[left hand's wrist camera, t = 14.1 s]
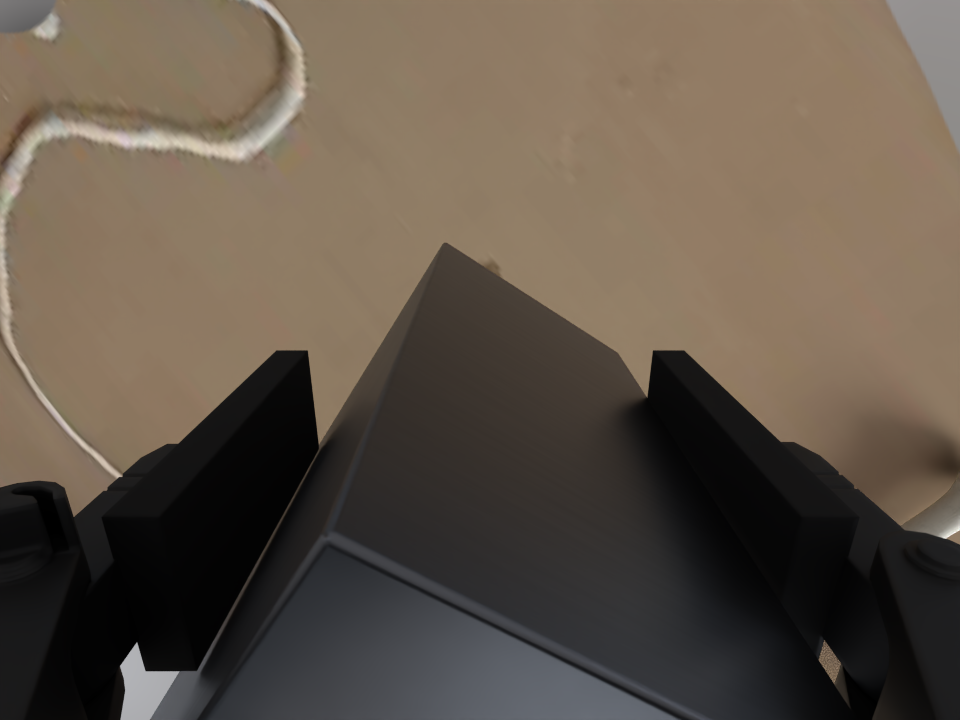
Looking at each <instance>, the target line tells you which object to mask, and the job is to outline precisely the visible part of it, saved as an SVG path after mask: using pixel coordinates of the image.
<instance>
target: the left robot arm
mask: <svg viewBox="0 0 960 720" xmlns="http://www.w3.org/2000/svg"><path fill="white" fill-rule="evenodd" d="M648 400H649V401H650V403H651V405H652V406H653V408H654V409H655V411H656V412H657V414H658V415H659V417H660V418H661V420H662V421H663V423H664V424H665V426H666V428H667V429H668V431H669V432H670V434H671V435H672V437H673V438H674V440H675V441H676V443H677V444H678V446H679V447H680V449H681V450H682V452H683V454H684V455H685V457H686V458H687V460H688V461H689V463H690V464H691V466H692V467H693V469H694V470H695V472H696V473H697V475H698V477H699V478H700V480H701V481H702V483H703V484H704V486H705V487H706V489H707V490H708V492H709V493H710V495H711V496H712V498H713V499H714V501H715V503H716V504H717V506H718V507H719V509H720V510H721V512H722V513H723V515H724V516H725V518H726V519H727V521H728V522H729V524H730V526H731V527H732V529H733V530H734V532H735V533H736V535H737V536H738V538H739V539H740V541H741V542H742V544H743V545H744V547H745V548H746V550H747V552H748V553H749V555H750V556H751V558H752V559H753V561H754V562H755V564H756V565H757V567H758V568H759V570H760V571H761V573H762V574H763V576H764V578H765V579H766V581H767V582H768V584H769V585H770V587H771V588H772V590H773V591H774V593H775V594H776V596H777V597H778V599H779V601H780V602H781V604H782V605H783V607H784V608H785V610H786V611H787V613H788V614H789V616H790V617H791V619H792V620H793V622H794V623H795V625H796V627H797V628H798V630H799V631H800V633H801V634H802V636H803V637H804V639H805V640H806V642H807V643H808V645H809V646H810V648H811V650H812V651H813V653H814V654H815V656H816V657H817V659H818V660H819V656H820V653H821V649H822V646H823V642H824V640H825V641H826V643H827V644H828V645H829V647H830V648H831V650H832V651H833V652H834V654H835V655H836V657H837V658H838V659H839V661H840V662H841V665H840V669H839V672H838V675H837V678H836V682H835V686H836V688H837V689H838V691H839V692H840V694H841V695H842V697H843V699H844V700H845V702H846V703H847V705H848V706H849V708H850V709H851V711H852V712H853V714H854V715H855V717H856V718H857V720H960V545H959V544H957V543H955V542H953V541H950V540H948V539H945V538H941V537H938V536H935V535H931V534H928V533H923V532H916V531H908V530H904V529H903V528H902V527H901V526H900V525H898V524H897V523H896V522H895V521H894V520H893V519H892V518H890V517H889V516H888V515H887V514H886V513H885V512H884V511H882V510H881V509H880V508H879V507H878V506H877V505H876V504H874V503H873V502H872V501H871V500H870V499H869V498H868V497H867V496H865V495H864V494H863V493H862V492H861V491H860V490H859V489H854V485H853V484H852V483H851V482H849V481H848V480H847V479H846V478H845V477H844V476H843V475H839V474H838V473H839V472H838V471H837V470H836V469H835V468H834V467H832V466H831V465H830V464H829V463H828V462H827V461H826V460H824V459H823V458H822V457H821V456H820V455H818V454H816V453H814V452H812V451H810V450H808V449H806V448H804V447H802V446H800V445H798V444H797V443H795V442H780V441H779V440H778V439H777V438H776V437H775V436H774V435H773V434H772V433H771V432H769V431H768V430H767V429H766V428H765V427H764V426H763V425H762V424H761V423H760V422H759V421H758V420H757V419H756V418H755V417H754V416H753V415H752V414H751V413H749V412H748V411H747V410H746V409H745V408H744V407H743V406H742V405H741V404H740V403H739V402H738V401H737V400H736V399H735V398H734V397H733V396H732V395H730V394H729V393H728V392H727V391H726V390H725V389H724V388H723V387H722V386H721V385H720V384H719V383H718V382H717V381H716V380H715V379H714V378H713V377H712V376H710V375H709V374H708V373H707V372H706V371H705V370H704V369H703V368H702V367H701V366H700V365H699V364H698V363H697V362H696V361H695V360H694V359H693V358H691V357H690V356H689V355H688V354H687V353H686V352H685V351H653V355H652V364H651V372H650V381H649V390H648ZM318 450H319V443H318V435H317V426H316V418H315V409H314V400H313V392H312V383H311V375H310V366H309V357H308V351H276V352H275V353H273V354H272V355H271V356H270V357H269V358H268V359H267V360H266V361H265V362H264V363H263V364H262V365H261V366H260V367H259V368H258V369H257V370H256V371H255V372H253V373H252V374H251V375H250V376H249V377H248V378H247V379H246V380H245V381H244V382H243V383H242V384H241V385H240V386H239V387H238V388H237V389H236V390H235V391H233V392H232V393H231V394H230V395H229V396H228V397H227V398H226V399H225V400H224V401H223V402H222V403H221V404H220V405H219V406H218V407H217V408H216V409H214V410H213V411H212V412H211V413H210V414H209V415H208V416H207V417H206V418H205V419H204V420H203V421H202V422H201V423H200V424H199V425H198V426H197V427H196V428H194V429H193V430H192V431H191V432H190V433H189V434H188V435H187V436H186V437H185V438H184V439H183V440H182V441H181V442H180V443H179V444H166V445H164V446H162V447H161V448H159V449H157V450H155V451H153V452H151V453H149V454H147V455H145V456H143V457H142V458H140V459H139V460H138V461H137V462H136V463H135V464H133V465H132V466H131V467H130V468H129V469H128V470H127V471H126V472H124V473H123V477H119V478H118V479H117V480H115V481H114V482H113V483H112V484H111V485H110V486H109V487H108V489H107V491H103V492H102V493H101V494H100V495H98V496H97V497H96V498H95V499H94V500H93V501H92V502H91V503H89V504H88V505H87V506H86V507H85V508H84V509H83V510H82V511H80V512H79V513H78V514H77V515H76V516H75V517H73V514H72V510H71V507H70V504H69V501H68V498H67V494H66V491H65V488H64V487H62V486H61V485H59V484H57V483H56V482H47V481H32V482H24V483H16V484H12V485H8V486H4V487H1V488H0V720H120V718H121V712H122V706H123V700H124V694H125V686H124V678H123V675H122V672H121V669H120V665H121V664H122V662H123V661H124V659H125V658H126V657H127V655H128V654H129V652H130V651H131V650H132V648H133V647H134V645H135V644H136V643H138V646H139V650H140V653H141V657H142V660H143V664H144V667H145V670H146V671H197V670H198V668H199V666H200V665H201V663H202V661H203V659H204V657H205V655H206V654H207V652H208V650H209V648H210V646H211V645H212V643H213V641H214V639H215V637H216V636H217V634H218V632H219V630H220V628H221V626H222V625H223V623H224V621H225V619H226V617H227V616H228V614H229V612H230V610H231V608H232V606H233V605H234V603H235V601H236V599H237V597H238V596H239V594H240V592H241V590H242V588H243V587H244V585H245V583H246V581H247V579H248V577H249V576H250V574H251V572H252V570H253V568H254V567H255V565H256V563H257V561H258V559H259V557H260V556H261V554H262V552H263V550H264V548H265V547H266V545H267V543H268V541H269V539H270V537H271V536H272V534H273V532H274V530H275V528H276V527H277V525H278V523H279V521H280V519H281V518H282V516H283V514H284V512H285V510H286V508H287V507H288V505H289V503H290V501H291V499H292V498H293V496H294V494H295V492H296V490H297V488H298V487H299V485H300V483H301V481H302V479H303V478H304V476H305V474H306V472H307V470H308V468H309V467H310V465H311V463H312V461H313V459H314V458H315V456H316V454H317V452H318Z"/></svg>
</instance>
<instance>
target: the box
mask: <svg viewBox="0 0 960 720" xmlns="http://www.w3.org/2000/svg"><path fill="white" fill-rule="evenodd" d="M150 720H857V718H856V717H855V715H854V714H853V712H852V711H851V709H850V708H849V706H848V705H847V703H846V702H845V700H844V699H843V697H842V695H841V694H840V692H839V691H838V689H837V688H836V686H835V685H834V683H833V682H832V680H831V679H830V677H829V676H828V674H827V672H826V671H825V669H824V668H823V666H822V665H821V663H820V662H819V660H818V659H817V657H816V656H815V654H814V653H813V651H812V650H811V648H810V646H809V645H808V643H807V642H806V640H805V639H804V637H803V636H802V634H801V633H800V631H799V630H798V628H797V627H796V625H795V623H794V622H793V620H792V619H791V617H790V616H789V614H788V613H787V611H786V610H785V608H784V607H783V605H782V604H781V602H780V601H779V599H778V597H777V596H776V594H775V593H774V591H773V590H772V588H771V587H770V585H769V584H768V582H767V581H766V579H765V578H764V576H763V574H762V573H761V571H760V570H759V568H758V567H757V565H756V564H755V562H754V561H753V559H752V558H751V556H750V555H749V553H748V552H747V550H746V548H745V547H744V545H743V544H742V542H741V541H740V539H739V538H738V536H737V535H736V533H735V532H734V530H733V529H732V527H731V526H730V524H729V522H728V521H727V519H726V518H725V516H724V515H723V513H722V512H721V510H720V509H719V507H718V506H717V504H716V503H715V501H714V499H713V498H712V496H711V495H710V493H709V492H708V490H707V489H706V487H705V486H704V484H703V483H702V481H701V480H700V478H699V477H698V475H697V473H696V472H695V470H694V469H693V467H692V466H691V464H690V463H689V461H688V460H687V458H686V457H685V455H684V454H683V452H682V450H681V449H680V447H679V446H678V444H677V443H676V441H675V440H674V438H673V437H672V435H671V434H670V432H669V431H668V429H667V428H666V426H665V424H664V423H663V421H662V420H661V418H660V417H659V415H658V414H657V412H656V411H655V409H654V408H653V406H652V405H651V403H650V401H649V400H648V398H647V397H646V395H645V394H644V392H643V391H642V389H641V388H640V386H639V385H638V383H637V382H636V380H635V379H634V377H633V375H632V374H631V372H630V371H629V369H628V368H627V366H626V365H625V363H624V362H623V360H622V359H621V357H620V356H619V354H618V353H617V352H616V351H614V350H612V349H611V348H609V347H608V346H606V345H605V344H603V343H602V342H600V341H598V340H597V339H595V338H594V337H592V336H591V335H589V334H588V333H586V332H584V331H583V330H581V329H580V328H578V327H577V326H575V325H574V324H572V323H570V322H569V321H567V320H566V319H564V318H563V317H561V316H560V315H558V314H557V313H555V312H553V311H552V310H550V309H549V308H547V307H546V306H544V305H543V304H541V303H539V302H538V301H536V300H535V299H533V298H532V297H530V296H529V295H527V294H525V293H524V292H522V291H521V290H519V289H518V288H516V287H515V286H513V285H511V284H510V283H508V282H507V281H505V280H504V279H502V278H501V277H499V276H497V275H496V274H494V273H493V272H491V271H490V270H488V269H487V268H485V267H484V266H482V265H480V264H479V263H477V262H476V261H474V260H473V259H471V258H470V257H468V256H466V255H465V254H463V253H462V252H460V251H459V250H457V249H456V248H454V247H452V246H451V245H449V244H448V243H444V244H442V246H441V248H440V249H439V251H438V253H437V254H436V256H435V257H434V259H433V261H432V262H431V264H430V266H429V267H428V269H427V270H426V272H425V274H424V275H423V277H422V279H421V280H420V282H419V283H418V285H417V287H416V288H415V290H414V292H413V293H412V295H411V296H410V298H409V300H408V301H407V303H406V305H405V306H404V308H403V309H402V311H401V313H400V314H399V316H398V318H397V319H396V321H395V322H394V324H393V326H392V327H391V329H390V331H389V332H388V334H387V335H386V337H385V339H384V340H383V342H382V344H381V345H380V347H379V348H378V350H377V352H376V353H375V355H374V357H373V358H372V360H371V361H370V363H369V365H368V366H367V368H366V370H365V371H364V373H363V374H362V376H361V378H360V379H359V381H358V383H357V384H356V386H355V387H354V389H353V391H352V392H351V394H350V396H349V397H348V399H347V400H346V402H345V404H344V405H343V407H342V409H341V410H340V412H339V413H338V415H337V417H336V418H335V420H334V422H333V423H332V425H331V426H330V428H329V430H328V431H327V433H326V435H325V436H324V438H323V439H322V441H321V443H320V444H319V450H318V452H317V454H316V456H315V458H314V459H313V461H312V463H311V465H310V467H309V468H308V470H307V472H306V474H305V476H304V478H303V479H302V481H301V483H300V485H299V487H298V488H297V490H296V492H295V494H294V496H293V498H292V499H291V501H290V503H289V505H288V507H287V508H286V510H285V512H284V514H283V516H282V518H281V519H280V521H279V523H278V525H277V527H276V528H275V530H274V532H273V534H272V536H271V537H270V539H269V541H268V543H267V545H266V547H265V548H264V550H263V552H262V554H261V556H260V557H259V559H258V561H257V563H256V565H255V567H254V568H253V570H252V572H251V574H250V576H249V577H248V579H247V581H246V583H245V585H244V587H243V588H242V590H241V592H240V594H239V596H238V597H237V599H236V601H235V603H234V605H233V606H232V608H231V610H230V612H229V614H228V616H227V617H226V619H225V621H224V623H223V625H222V626H221V628H220V630H219V632H218V634H217V636H216V637H215V639H214V641H213V643H212V645H211V646H210V648H209V650H208V652H207V654H206V655H205V657H204V659H203V661H202V663H201V665H200V666H199V668H198V670H197V671H180V672H179V674H178V675H177V677H176V678H175V680H174V682H173V683H172V685H171V687H170V688H169V690H168V691H167V693H166V695H165V696H164V698H163V700H162V701H161V703H160V704H159V706H158V708H157V709H156V711H155V713H154V714H153V716H152V718H151V719H150Z"/></svg>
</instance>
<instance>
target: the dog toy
mask: <svg viewBox="0 0 960 720" xmlns="http://www.w3.org/2000/svg"><path fill="white" fill-rule="evenodd" d="M901 527H902V528H903V529H904V530H908V531H916V532H923V533H928V534H931V535H935V536H938V537H941V538H945V539H946V538H947V537H949V536H950V535H952V534H954V533H955V532H957V531H959V530H960V471H959V473H958V476H957V479H956V481H955V482H954V484H953V485H952V487H951V488H950V490H949V491H948V492H947V493H946V494H945V495H944V496H942V497H941V498H940V499H939V500H937V501H936V502H935V503H934V504H932V505H931V506H929V507H928V508H927V509H925V510H924V511H922V512H921V513H919V514H918V515H916V516H915V517H913V518H912V519H910V520H909V521H907V522H906V523H904V524H903V525H901Z"/></svg>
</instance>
